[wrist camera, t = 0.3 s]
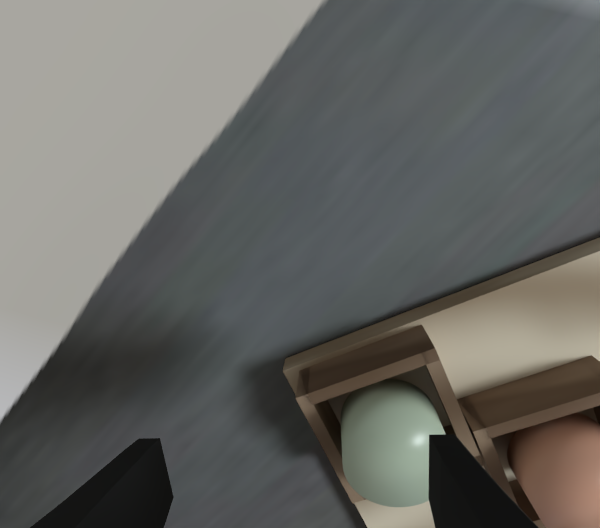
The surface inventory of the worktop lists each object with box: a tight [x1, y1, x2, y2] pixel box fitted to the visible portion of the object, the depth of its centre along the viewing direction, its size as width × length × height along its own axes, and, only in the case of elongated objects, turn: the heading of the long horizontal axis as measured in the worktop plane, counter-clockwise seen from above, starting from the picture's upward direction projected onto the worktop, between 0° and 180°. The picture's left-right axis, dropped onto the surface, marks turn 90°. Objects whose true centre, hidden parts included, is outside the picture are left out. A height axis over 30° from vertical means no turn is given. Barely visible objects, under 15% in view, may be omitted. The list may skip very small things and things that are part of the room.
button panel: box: [283, 237, 600, 528], centre depth 17 cm, size 16×21×3 cm
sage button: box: [341, 379, 445, 507], centre depth 16 cm, size 4×4×3 cm
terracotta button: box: [507, 413, 600, 528], centre depth 15 cm, size 4×4×3 cm
